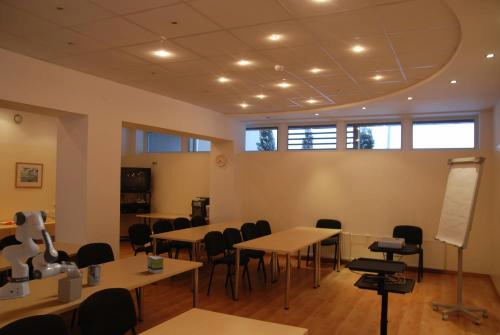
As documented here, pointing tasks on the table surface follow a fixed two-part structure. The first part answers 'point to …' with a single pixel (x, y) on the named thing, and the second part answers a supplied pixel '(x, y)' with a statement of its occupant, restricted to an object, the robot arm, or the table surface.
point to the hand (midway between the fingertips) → (68, 265)
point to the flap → (76, 271)
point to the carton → (69, 289)
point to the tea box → (155, 264)
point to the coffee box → (93, 275)
